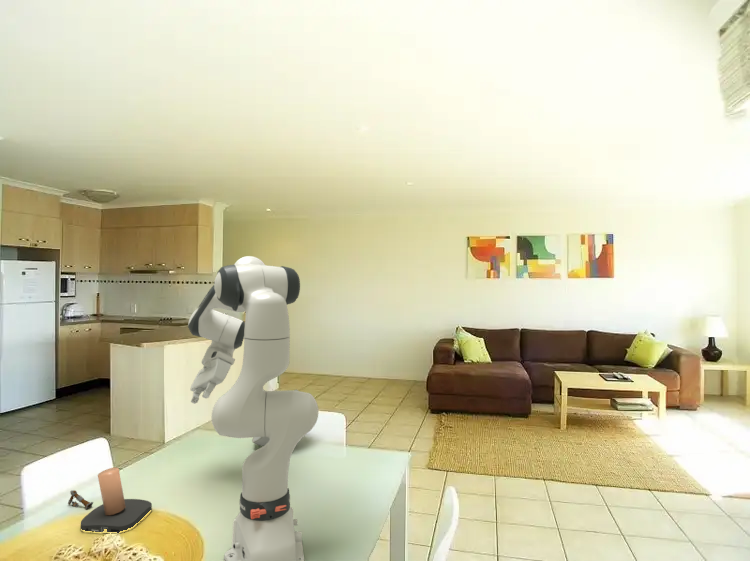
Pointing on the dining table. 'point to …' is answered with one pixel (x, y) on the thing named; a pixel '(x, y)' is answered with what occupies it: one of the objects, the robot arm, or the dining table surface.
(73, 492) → the brown grey jointed tubes
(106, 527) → the media streaming box
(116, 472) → the salmon orange cylinder
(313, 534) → the dining table surface
